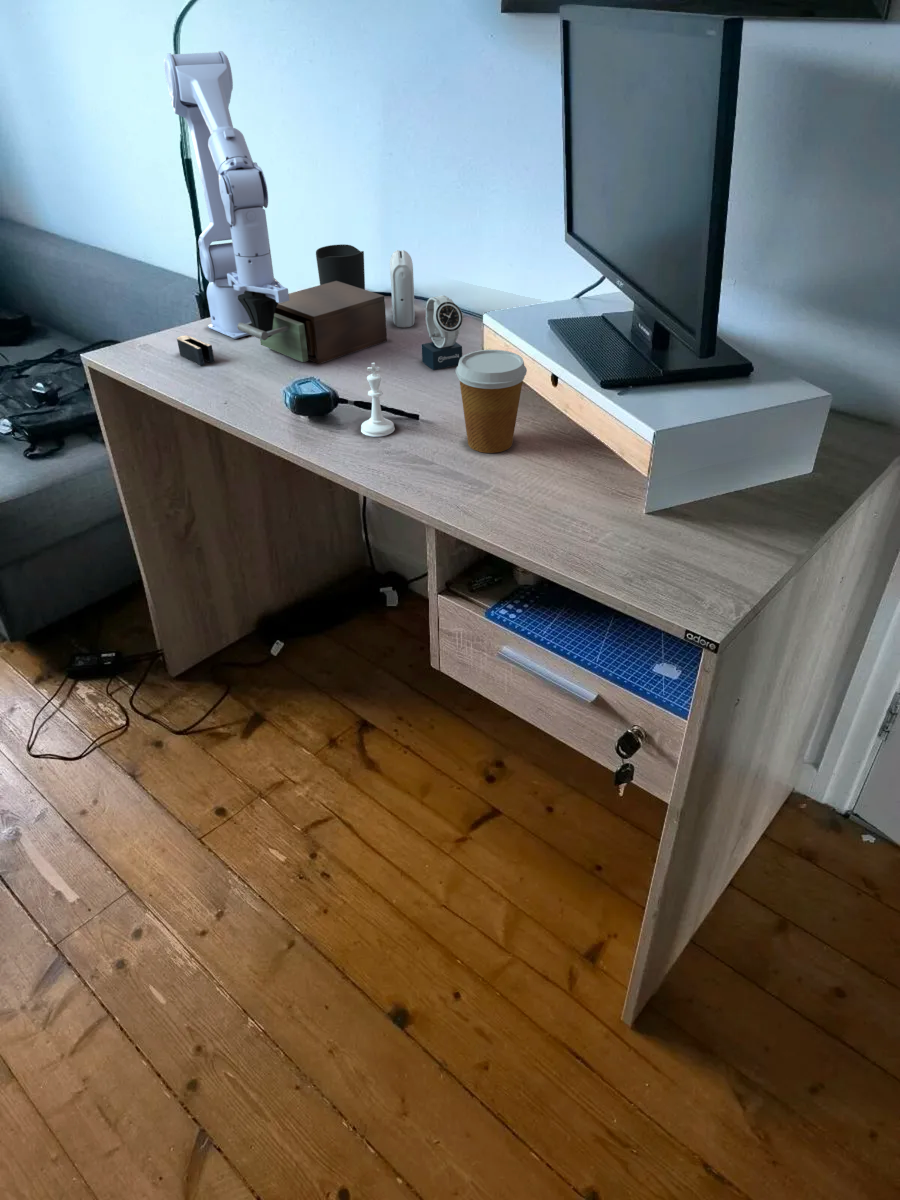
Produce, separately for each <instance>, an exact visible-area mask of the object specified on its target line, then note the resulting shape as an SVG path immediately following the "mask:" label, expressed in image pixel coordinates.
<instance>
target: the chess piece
mask: <svg viewBox="0 0 900 1200" xmlns="http://www.w3.org/2000/svg"><path fill="white" fill-rule="evenodd" d="M366 369H367V372H371V374H368V375H367V376H366V379H367V382H368V384H369V387H370V390H368V391H367V396H368V397H371V398H372V399H371V415H370V417H369V419H366V420H365V421H363V422H362V423H361V425H360V432H361V433H362V434H363V435H365V436H367V437H374V438H379V437H380V438H381V437H386V436H389V435H391V434H393V433H394V431H395V430H396V429H395V424H394V422H393V421H392V420H390V419H388V418H385V416H383V412H382V407H381V401H380V397H381V396H383V394H384V392H383V390H382V389H380V384H381V381H382V375H380V374H379V373H376V372H380V371H381V369H380V366H376V362H371V366H369V367H367V368H366Z"/></svg>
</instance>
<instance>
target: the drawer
mask: <svg viewBox="0 0 900 1200" xmlns="http://www.w3.org/2000/svg"><path fill="white" fill-rule="evenodd" d="M237 327H238V330H240V331H242V332H245V333H247V334H250V335H249V336H252V337H255V338H257V339H259V342H260V345H261V346H263V347H265V348H267V349H270V350H272V351H274V352H277V353H279V354H282V355H284V356H286V357H288V358H291V359H293V360H296V361H299V362H301V363H306V362H308V361H309V360H308V354H309V355H312V356H313V355H315V346H314V337H313V328H312V320H309V319H307V318H304V317H301V316H298V315H296V314H293V313H290V312H287V311H285V310H282V309H279V308H276V310H275V314H274V320H273V328H272V330H271V331H267V332H265V331H263V330H260V329H258V328H255V327H253V325H252V322H250V323H246V324H245V323H243V322H240V323H239V324H238V326H237ZM270 335H272V336H271V337H268V336H270Z"/></svg>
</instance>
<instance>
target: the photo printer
mask: <svg viewBox="0 0 900 1200" xmlns="http://www.w3.org/2000/svg"><path fill="white" fill-rule="evenodd" d="M412 259H413V258H412V257H411V255H410V253H409V252H408V251H406V250H405V249H402V250H399V249H397V250H395V251H394V252H393V253H392V254H391V256H390V258H389V273H390V274H389V275H390V288H391V290H390V291H391V311H392V312H391V313H392V321H393V325H394V326H395V327H397V328H411V327H412V326H414V325H415V320H416V319H415V318H416V313H415V311H416V309H415V284H414V283H415V282H414V263H413V260H412Z"/></svg>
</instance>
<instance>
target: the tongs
mask: <svg viewBox="0 0 900 1200" xmlns="http://www.w3.org/2000/svg"><path fill="white" fill-rule="evenodd" d="M176 341H177V346H178V351H179V355H180V357H182V358H184V359H186V360H188V361H190V362H193V363H195V364H196V365H198V366H199V367H203V366H205V361H206V362H208V363H210V364H212V363H215V356H214V355H215V354H214V350H213V345H212V344H210V343H206V342H204V341H202V340H200V339H198V338H195V337H192V336H191V335H179V336H177V337H176Z"/></svg>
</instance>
